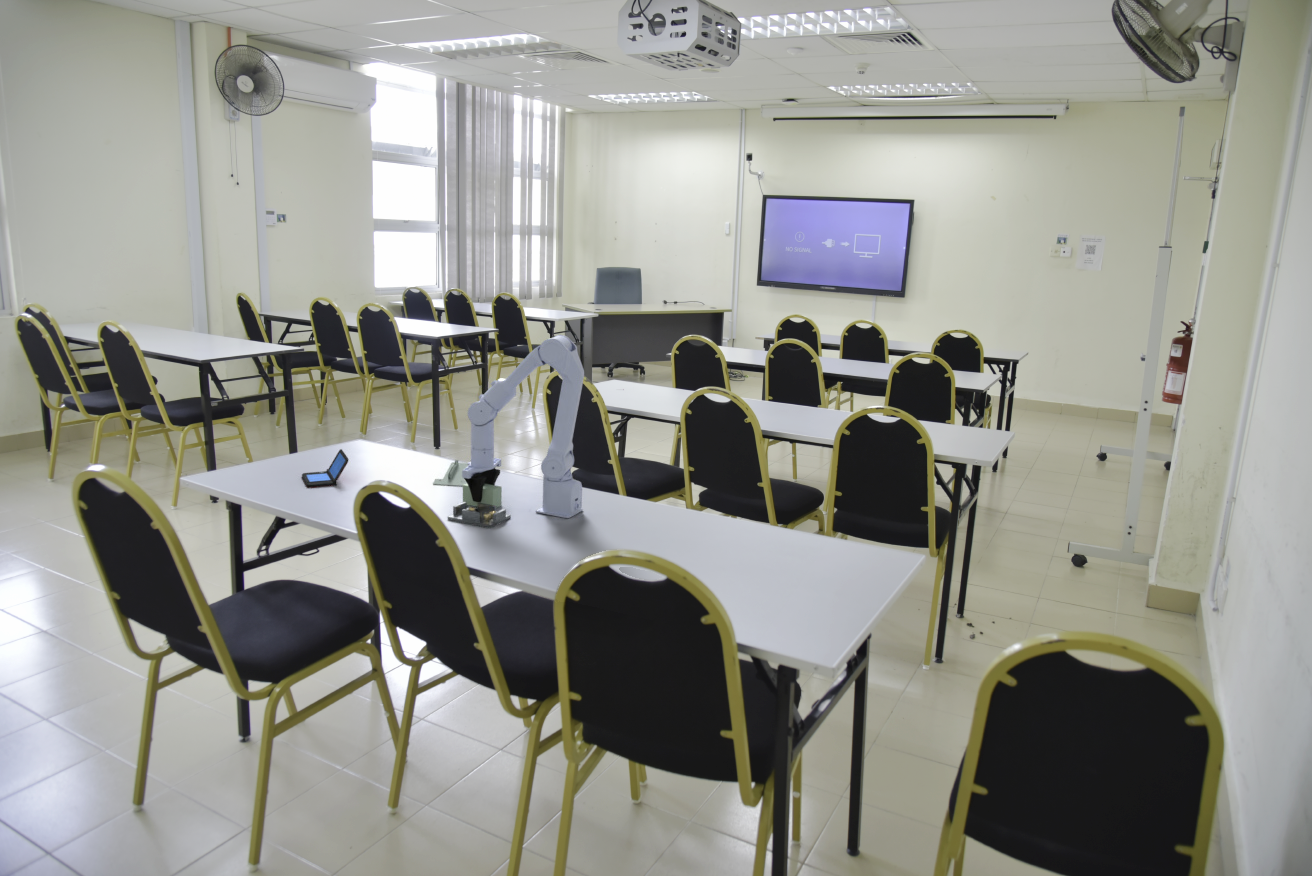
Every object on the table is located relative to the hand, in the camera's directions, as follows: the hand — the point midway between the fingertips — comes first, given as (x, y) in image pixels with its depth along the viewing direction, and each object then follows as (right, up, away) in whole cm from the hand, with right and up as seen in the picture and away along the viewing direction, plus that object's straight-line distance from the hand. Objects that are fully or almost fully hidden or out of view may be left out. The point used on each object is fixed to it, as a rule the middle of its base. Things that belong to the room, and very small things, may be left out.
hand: (482, 499), depth 219 cm
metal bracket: (-9, +3, +21) cm, 23 cm away
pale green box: (0, -1, 0) cm, 1 cm away
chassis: (+2, -4, -11) cm, 12 cm away
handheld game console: (-46, +4, +15) cm, 48 cm away
